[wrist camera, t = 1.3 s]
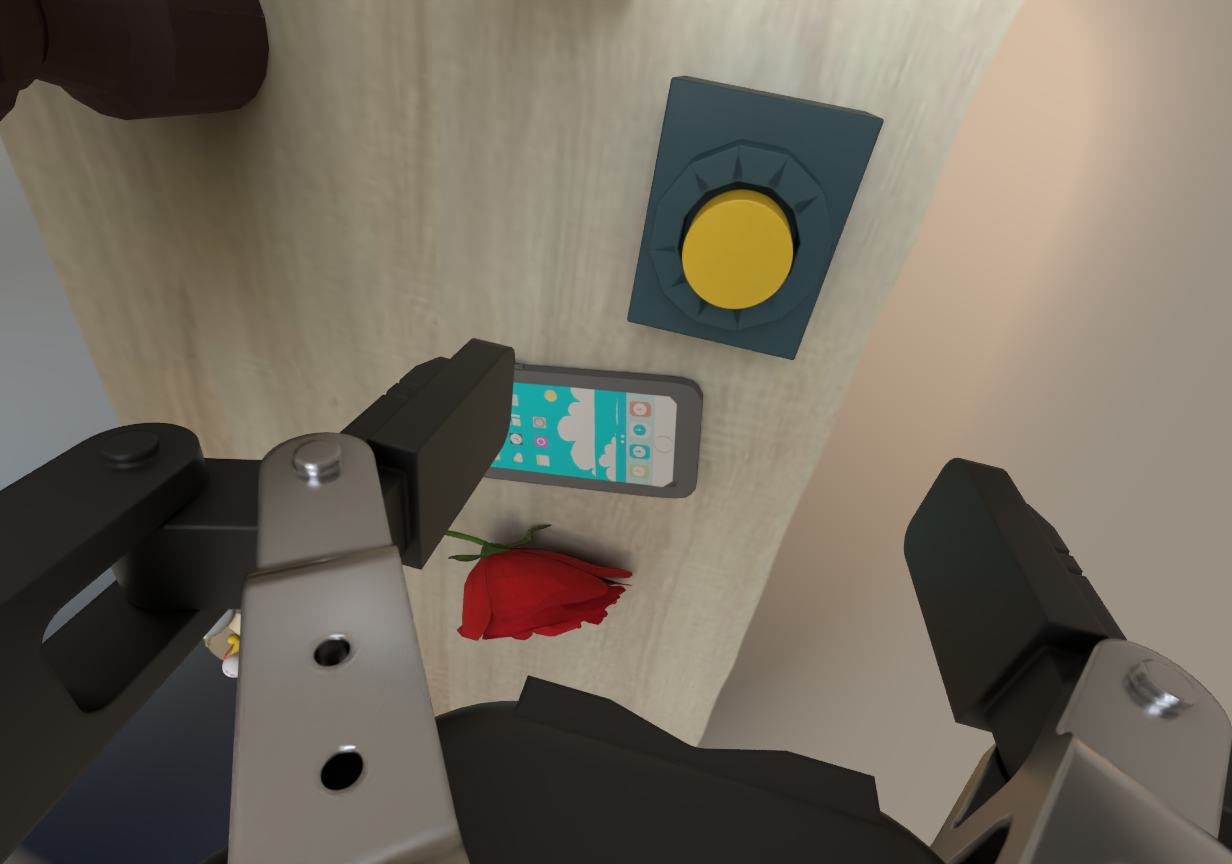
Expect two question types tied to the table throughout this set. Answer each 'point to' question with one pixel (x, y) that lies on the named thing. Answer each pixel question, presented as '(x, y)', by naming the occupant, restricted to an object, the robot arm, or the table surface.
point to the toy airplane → (229, 640)
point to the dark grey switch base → (763, 162)
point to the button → (738, 249)
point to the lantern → (135, 53)
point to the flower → (532, 591)
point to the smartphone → (602, 431)
